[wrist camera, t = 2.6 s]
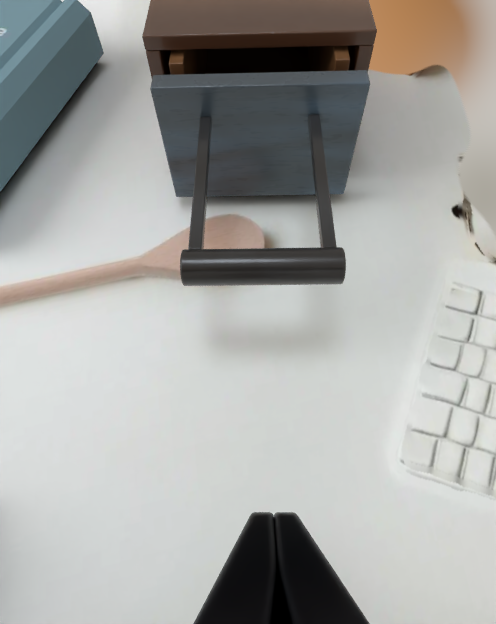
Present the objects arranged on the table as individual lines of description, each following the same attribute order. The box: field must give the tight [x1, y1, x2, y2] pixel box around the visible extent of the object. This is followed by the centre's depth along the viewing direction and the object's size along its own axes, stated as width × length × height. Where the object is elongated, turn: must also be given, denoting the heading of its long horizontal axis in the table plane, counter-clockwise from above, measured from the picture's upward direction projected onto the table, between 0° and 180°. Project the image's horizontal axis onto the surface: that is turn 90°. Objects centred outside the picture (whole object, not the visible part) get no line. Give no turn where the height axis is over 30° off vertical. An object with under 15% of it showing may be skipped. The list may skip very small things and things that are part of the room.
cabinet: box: [143, 0, 377, 78], centre depth 31 cm, size 18×13×10 cm
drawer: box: [150, 46, 370, 286], centre depth 26 cm, size 27×11×8 cm, turn 0°
